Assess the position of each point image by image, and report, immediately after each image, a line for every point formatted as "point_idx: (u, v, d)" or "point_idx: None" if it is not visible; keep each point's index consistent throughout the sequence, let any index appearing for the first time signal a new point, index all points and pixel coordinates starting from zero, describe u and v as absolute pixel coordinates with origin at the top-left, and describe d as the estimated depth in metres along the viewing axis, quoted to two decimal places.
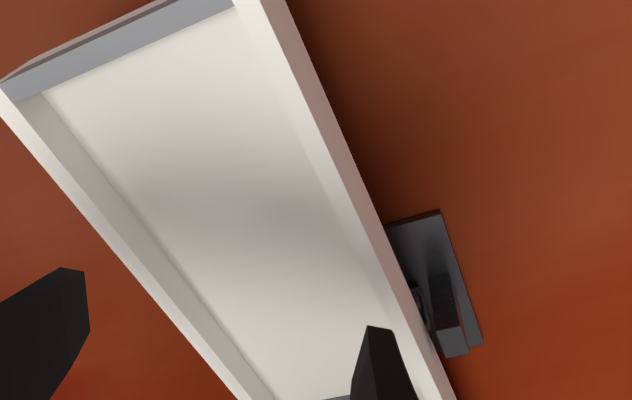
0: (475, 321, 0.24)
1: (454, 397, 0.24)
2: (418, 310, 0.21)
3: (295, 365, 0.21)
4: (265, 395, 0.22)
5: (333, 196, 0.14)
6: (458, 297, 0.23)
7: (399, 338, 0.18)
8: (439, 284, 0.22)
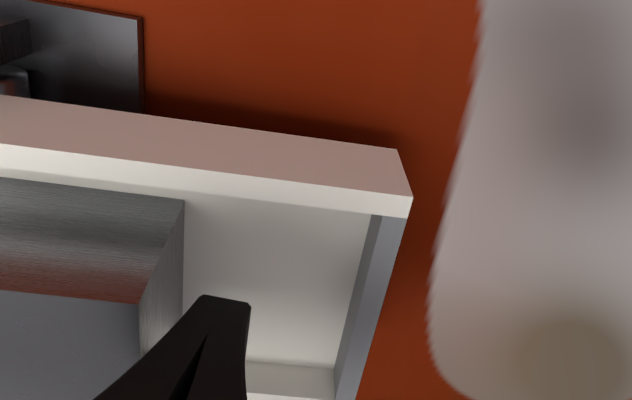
0: (82, 12, 0.14)
1: (134, 117, 0.13)
2: None
3: None
4: None
5: None
6: (24, 16, 0.14)
7: None
8: None
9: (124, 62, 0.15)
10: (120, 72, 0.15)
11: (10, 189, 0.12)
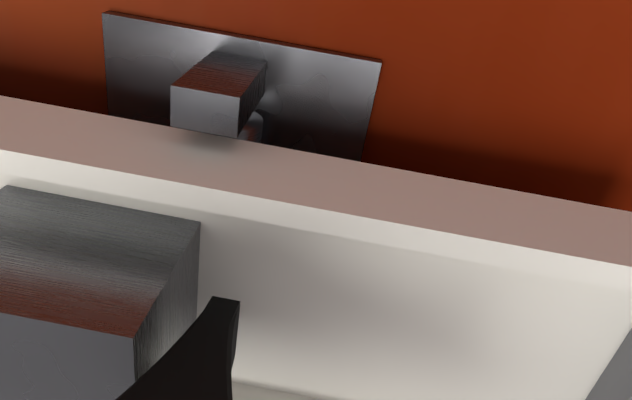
0: (325, 55, 0.14)
1: (399, 174, 0.13)
2: (168, 126, 0.13)
3: None
4: None
5: None
6: (264, 58, 0.14)
7: (46, 178, 0.11)
8: None
9: (358, 104, 0.14)
10: (351, 113, 0.15)
11: (26, 202, 0.12)
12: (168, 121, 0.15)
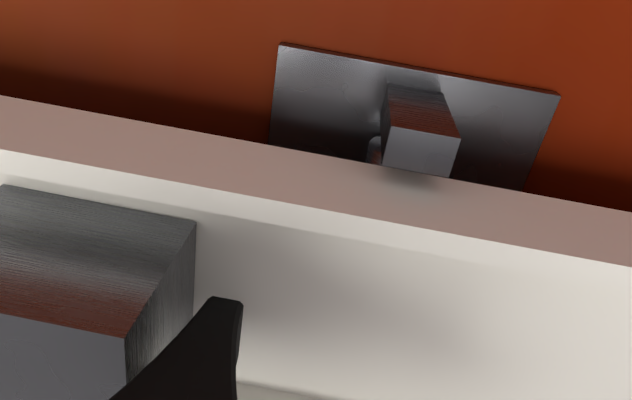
0: (504, 88, 0.14)
1: (598, 211, 0.12)
2: (361, 162, 0.13)
3: (321, 354, 0.14)
4: None
5: None
6: (439, 90, 0.14)
7: (274, 220, 0.11)
8: (383, 106, 0.14)
9: (529, 135, 0.14)
10: (520, 145, 0.15)
11: (23, 201, 0.12)
12: (329, 151, 0.15)
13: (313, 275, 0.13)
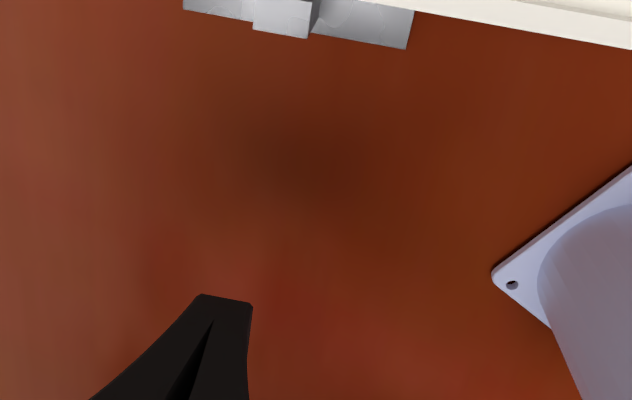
0: None
1: None
2: None
3: None
4: None
5: None
6: None
7: None
8: None
9: None
10: None
11: None
12: None
13: None
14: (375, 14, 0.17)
